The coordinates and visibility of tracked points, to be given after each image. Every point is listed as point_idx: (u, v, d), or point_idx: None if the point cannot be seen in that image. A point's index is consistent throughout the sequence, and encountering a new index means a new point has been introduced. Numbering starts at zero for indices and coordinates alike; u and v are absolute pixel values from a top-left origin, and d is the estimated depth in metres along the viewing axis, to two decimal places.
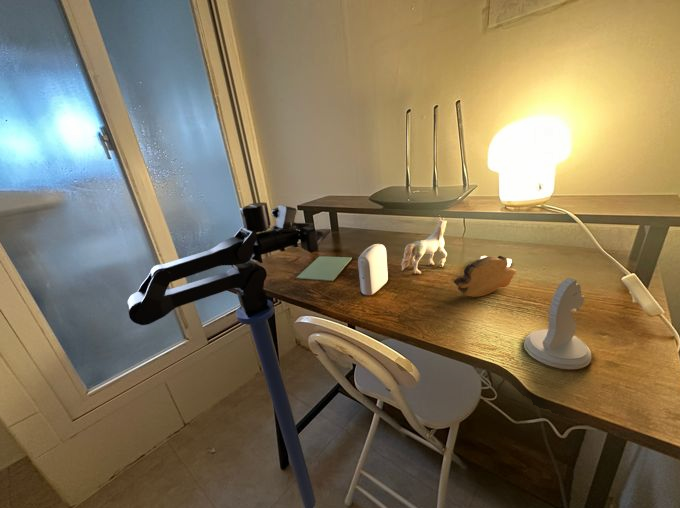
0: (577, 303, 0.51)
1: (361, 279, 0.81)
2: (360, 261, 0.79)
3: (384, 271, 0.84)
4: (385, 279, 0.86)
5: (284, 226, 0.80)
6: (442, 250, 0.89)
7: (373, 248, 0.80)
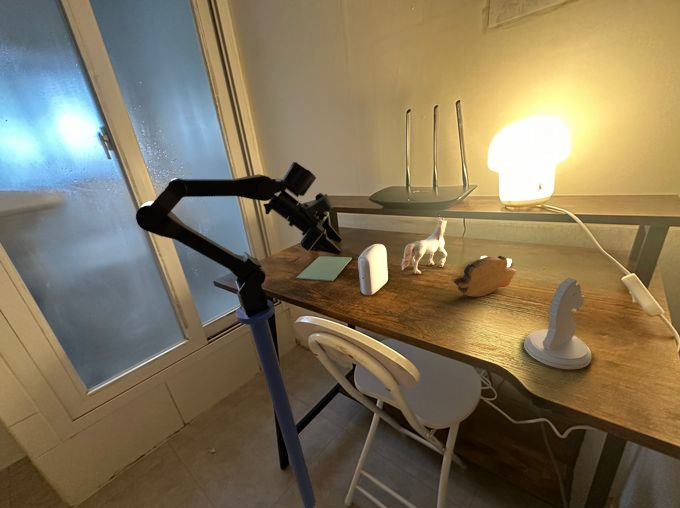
0: (577, 303, 0.51)
1: (361, 279, 0.81)
2: (360, 261, 0.79)
3: (384, 271, 0.84)
4: (385, 279, 0.86)
5: (309, 209, 0.75)
6: (442, 250, 0.89)
7: (373, 248, 0.80)
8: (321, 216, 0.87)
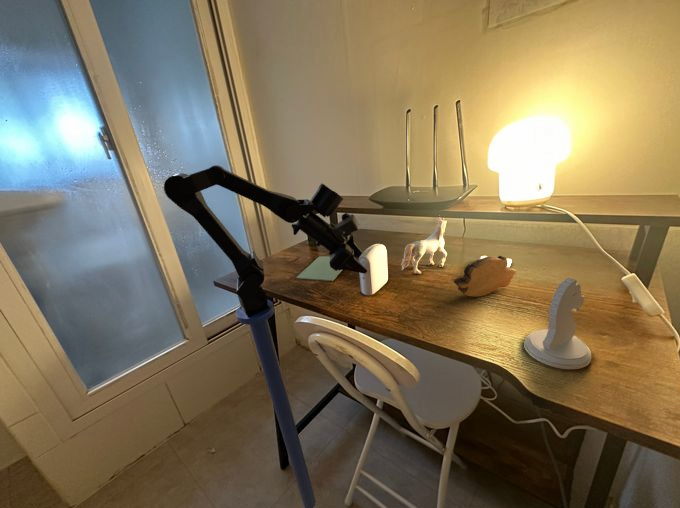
0: (577, 303, 0.51)
1: (361, 279, 0.81)
2: (361, 261, 0.79)
3: (384, 271, 0.84)
4: (386, 279, 0.86)
5: (337, 229, 0.77)
6: (442, 250, 0.89)
7: (374, 248, 0.80)
8: None
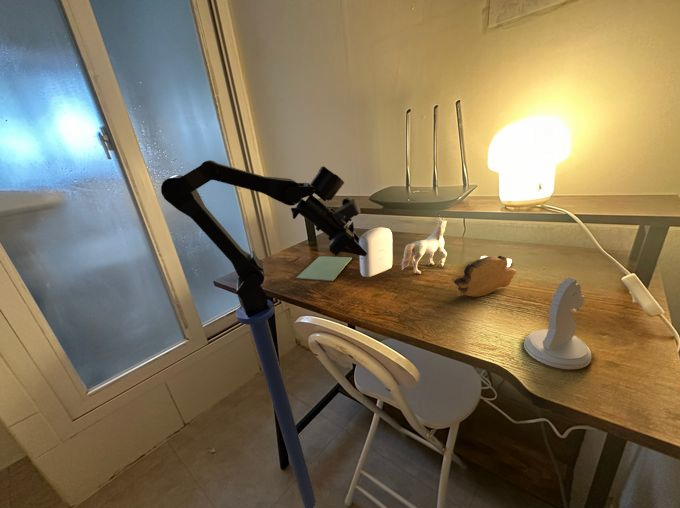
0: (577, 303, 0.51)
1: (360, 259, 0.82)
2: (360, 241, 0.79)
3: (387, 255, 0.83)
4: (389, 265, 0.85)
5: (337, 214, 0.75)
6: (442, 250, 0.89)
7: (376, 230, 0.79)
8: (345, 220, 0.87)
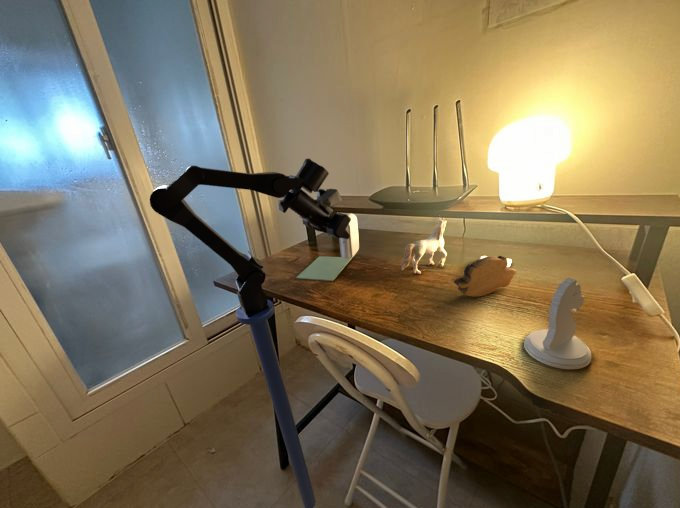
0: (577, 303, 0.51)
1: (342, 244, 0.89)
2: None
3: (357, 237, 0.94)
4: (358, 246, 0.96)
5: (324, 202, 0.80)
6: (442, 250, 0.89)
7: (349, 215, 0.89)
8: None
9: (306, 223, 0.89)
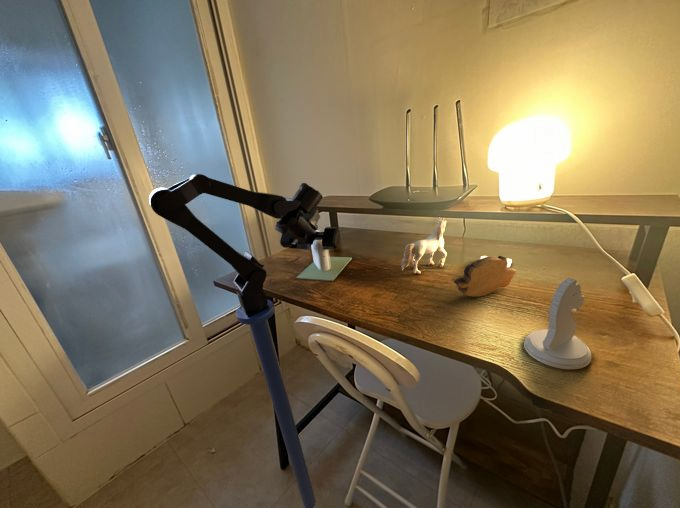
0: (577, 303, 0.51)
1: (321, 258, 0.98)
2: (320, 242, 0.96)
3: None
4: None
5: (311, 220, 0.87)
6: (442, 250, 0.89)
7: (320, 231, 0.99)
8: None
9: (287, 243, 0.92)
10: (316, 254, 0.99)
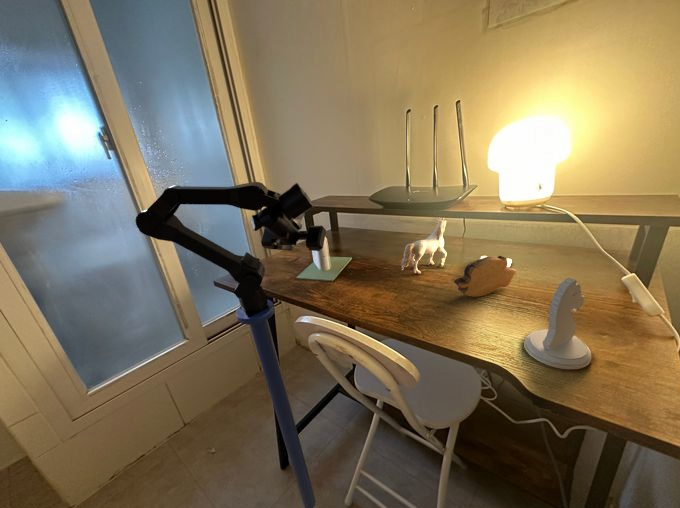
0: (577, 303, 0.51)
1: (321, 258, 0.98)
2: None
3: None
4: None
5: None
6: (442, 250, 0.89)
7: None
8: None
9: (269, 244, 0.84)
10: (316, 254, 0.99)
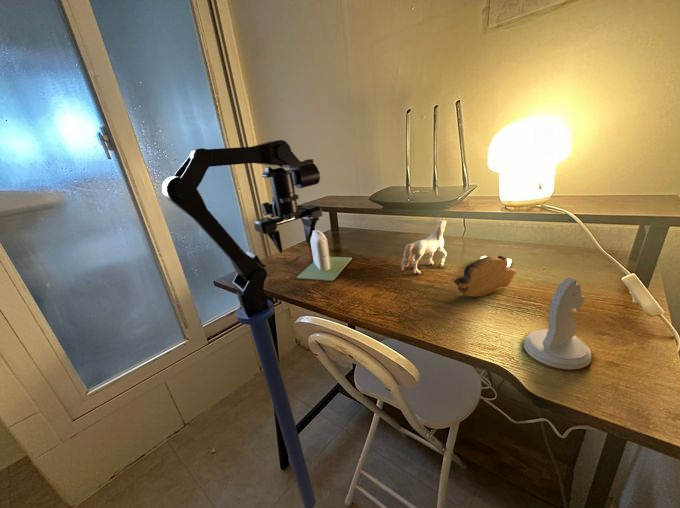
0: (577, 303, 0.51)
1: (321, 258, 0.98)
2: (320, 242, 0.96)
3: None
4: None
5: None
6: (442, 250, 0.89)
7: (320, 231, 0.99)
8: None
9: (272, 222, 0.77)
10: (316, 254, 0.99)
